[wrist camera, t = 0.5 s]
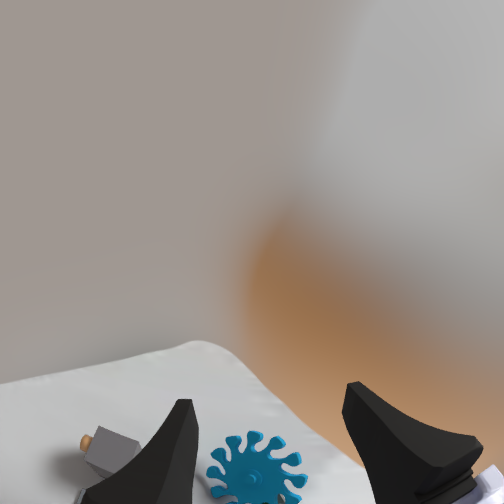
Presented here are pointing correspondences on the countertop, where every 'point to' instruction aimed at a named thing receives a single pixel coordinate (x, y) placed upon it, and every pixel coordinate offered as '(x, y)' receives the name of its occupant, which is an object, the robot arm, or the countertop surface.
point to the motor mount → (81, 496)
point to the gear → (256, 472)
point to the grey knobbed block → (108, 451)
